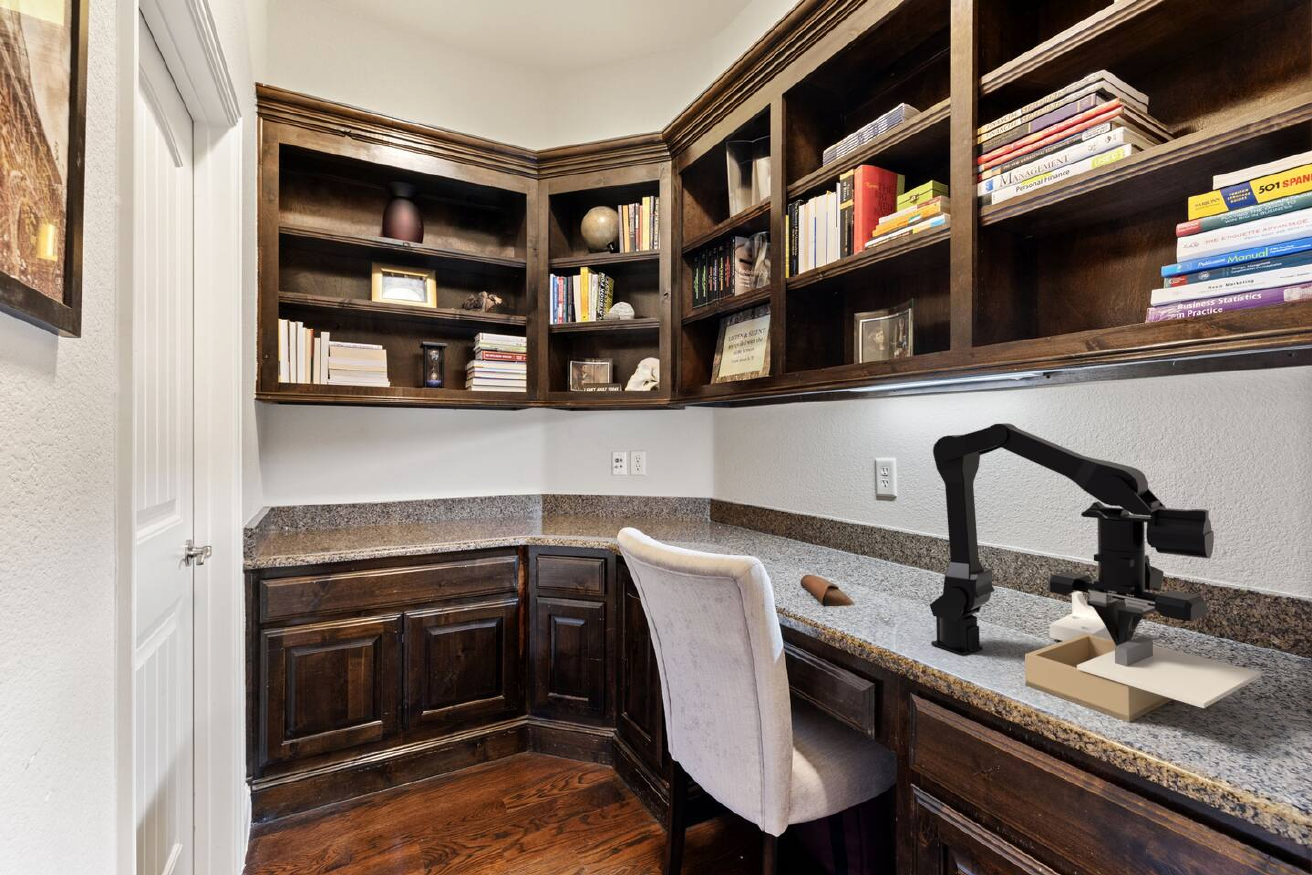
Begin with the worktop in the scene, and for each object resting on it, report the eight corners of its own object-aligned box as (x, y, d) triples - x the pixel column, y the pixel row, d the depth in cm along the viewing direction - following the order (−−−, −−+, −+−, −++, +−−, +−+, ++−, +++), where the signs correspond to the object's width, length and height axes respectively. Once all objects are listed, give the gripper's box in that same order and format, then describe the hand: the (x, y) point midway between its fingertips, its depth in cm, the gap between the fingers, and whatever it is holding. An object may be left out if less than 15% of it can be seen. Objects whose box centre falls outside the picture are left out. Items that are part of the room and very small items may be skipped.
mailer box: (1025, 685, 95) (1025, 654, 95) (1085, 662, 104) (1085, 633, 104) (1128, 722, 83) (1128, 686, 83) (1187, 692, 92) (1186, 659, 92)
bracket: (1077, 628, 122) (1077, 591, 122) (1119, 637, 116) (1119, 598, 116) (1049, 642, 114) (1049, 603, 114) (1093, 653, 109) (1092, 611, 109)
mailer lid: (1076, 669, 88) (1076, 648, 88) (1138, 644, 97) (1138, 625, 97) (1203, 708, 76) (1203, 683, 76) (1261, 676, 85) (1260, 654, 85)
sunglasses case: (858, 605, 140) (843, 581, 139) (833, 621, 139) (818, 597, 139) (831, 585, 157) (818, 564, 157) (809, 599, 157) (795, 578, 157)
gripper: (1222, 552, 88) (1223, 658, 88) (1081, 534, 104) (1082, 623, 104) (1188, 562, 82) (1189, 674, 83) (1045, 541, 99) (1047, 635, 99)
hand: (1122, 649), depth 92 cm, fingers closed
